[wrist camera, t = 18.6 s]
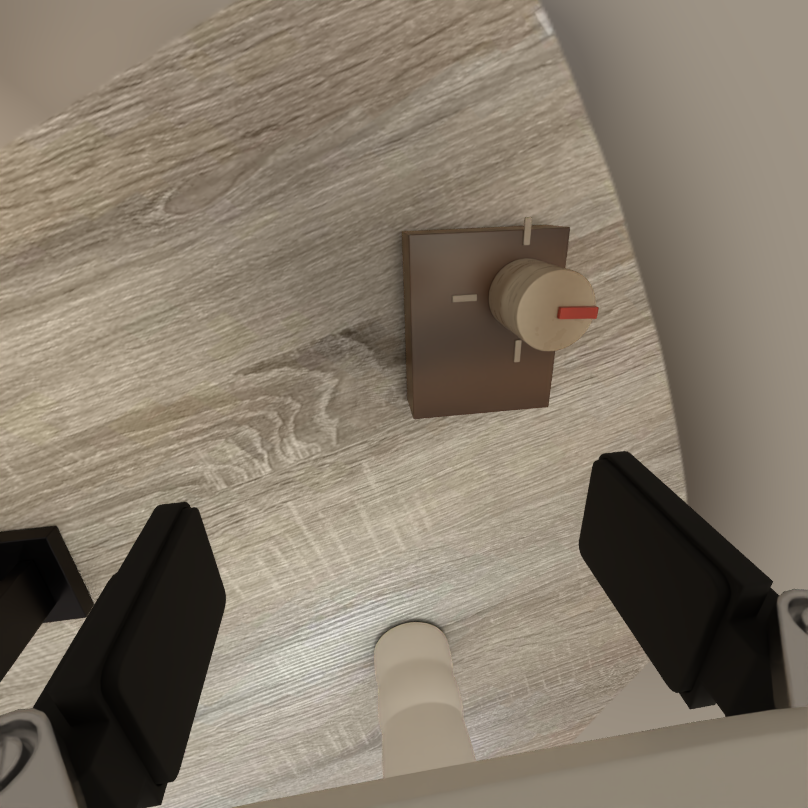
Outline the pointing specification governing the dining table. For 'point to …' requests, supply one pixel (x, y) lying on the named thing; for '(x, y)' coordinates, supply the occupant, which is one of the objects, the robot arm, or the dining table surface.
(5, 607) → the black lever stand
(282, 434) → the dining table surface
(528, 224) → the tap panel
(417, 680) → the water bottle
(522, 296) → the tap knob
